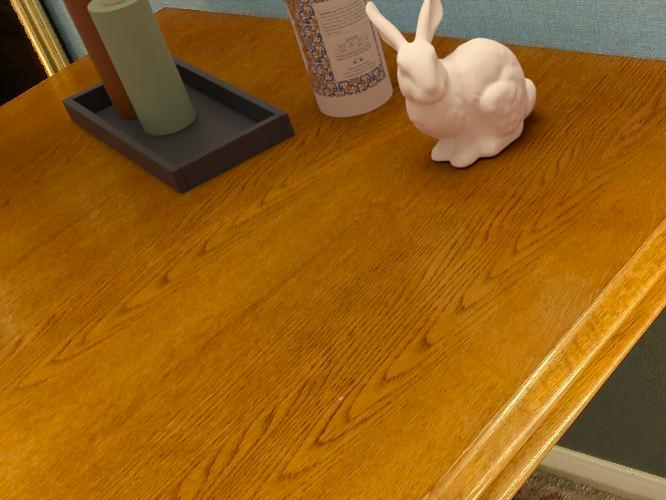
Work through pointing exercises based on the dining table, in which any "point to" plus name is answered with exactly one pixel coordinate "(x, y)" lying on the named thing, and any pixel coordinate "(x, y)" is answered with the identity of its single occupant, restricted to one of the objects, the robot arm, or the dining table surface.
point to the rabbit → (459, 89)
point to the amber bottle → (100, 57)
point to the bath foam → (341, 55)
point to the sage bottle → (143, 64)
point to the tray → (188, 129)
